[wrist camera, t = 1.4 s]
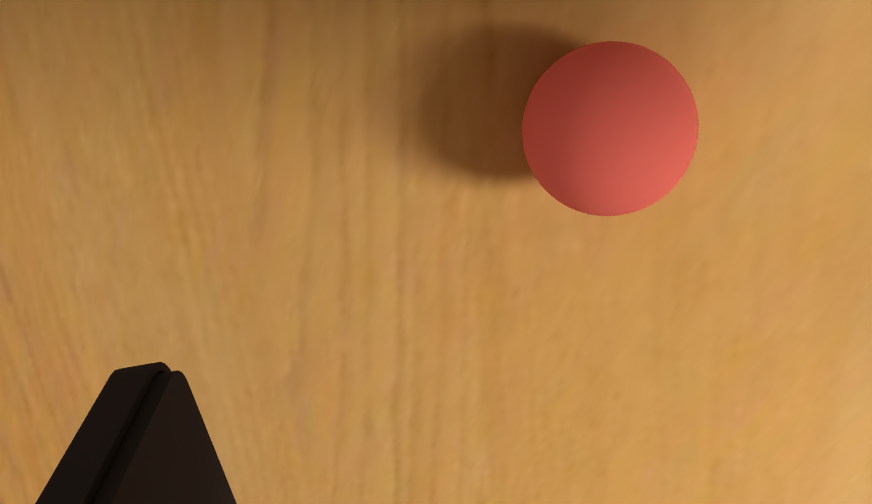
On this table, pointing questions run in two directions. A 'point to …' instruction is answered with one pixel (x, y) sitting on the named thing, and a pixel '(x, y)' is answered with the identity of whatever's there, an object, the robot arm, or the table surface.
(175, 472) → the robot arm
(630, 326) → the table surface
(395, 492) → the table surface
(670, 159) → the ball
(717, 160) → the table surface
